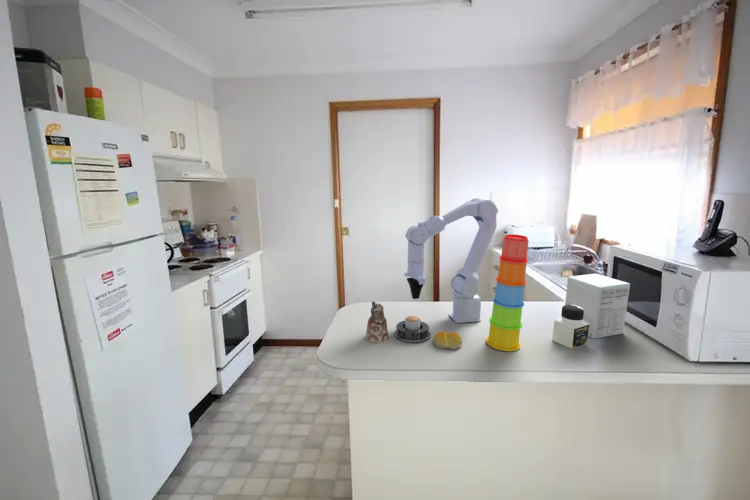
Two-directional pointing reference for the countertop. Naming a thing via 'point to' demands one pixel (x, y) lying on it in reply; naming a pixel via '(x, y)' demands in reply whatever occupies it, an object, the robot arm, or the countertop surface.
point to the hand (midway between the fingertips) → (415, 298)
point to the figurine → (377, 325)
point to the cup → (412, 323)
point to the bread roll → (447, 340)
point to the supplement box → (599, 302)
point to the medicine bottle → (571, 327)
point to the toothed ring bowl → (412, 333)
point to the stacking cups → (509, 295)
